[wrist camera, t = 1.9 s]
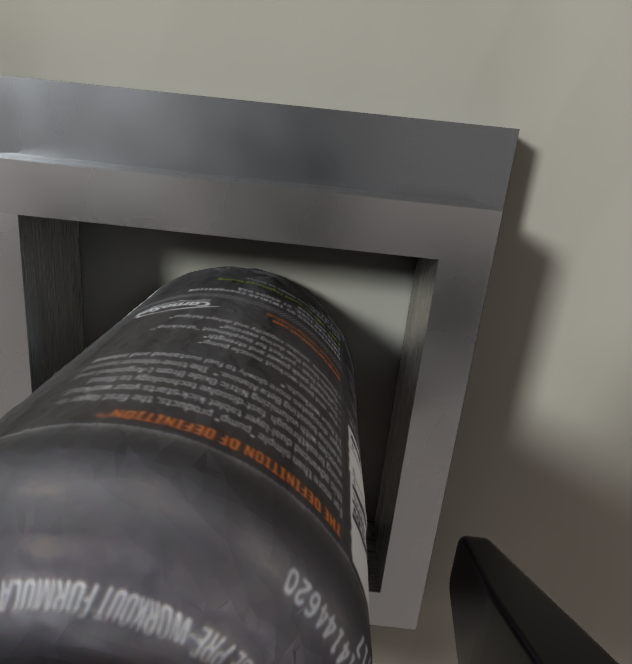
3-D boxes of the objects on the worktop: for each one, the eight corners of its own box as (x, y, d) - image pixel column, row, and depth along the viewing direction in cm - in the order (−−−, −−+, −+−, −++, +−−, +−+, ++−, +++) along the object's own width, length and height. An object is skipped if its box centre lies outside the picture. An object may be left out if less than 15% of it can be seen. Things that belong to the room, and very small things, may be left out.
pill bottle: (77, 346, 14) (-808, 1024, 3) (262, 212, 13) (-179, 593, 2) (220, 511, 15) (-56, 1357, 5) (400, 406, 14) (592, 1242, 3)
